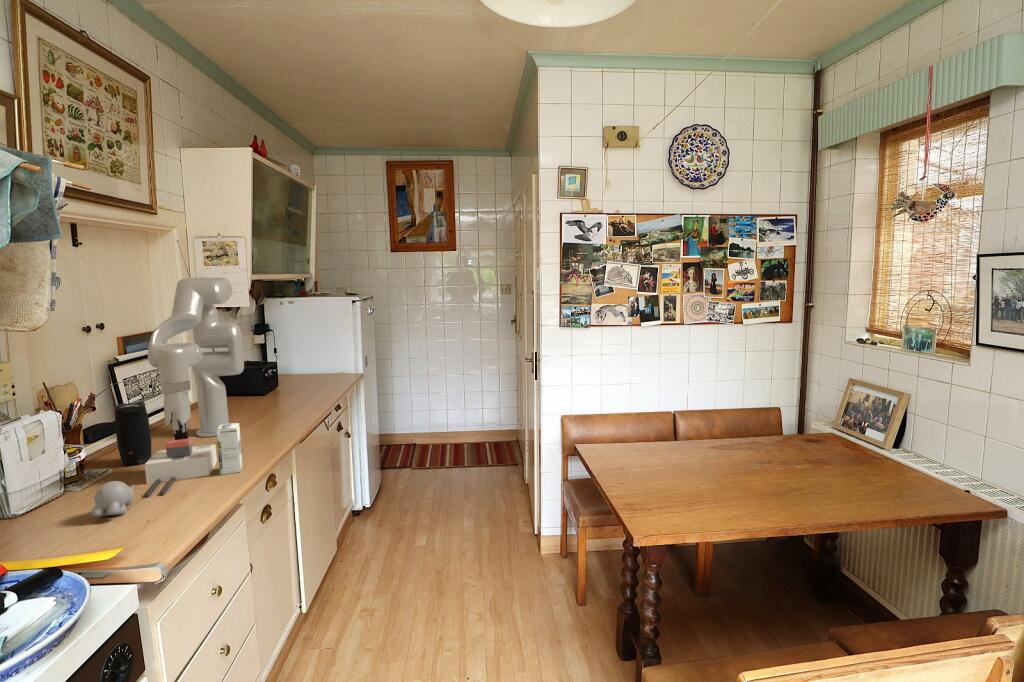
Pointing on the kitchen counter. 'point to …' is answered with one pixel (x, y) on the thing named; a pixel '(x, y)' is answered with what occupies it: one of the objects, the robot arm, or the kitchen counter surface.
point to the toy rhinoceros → (112, 499)
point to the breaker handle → (179, 448)
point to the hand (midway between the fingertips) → (182, 444)
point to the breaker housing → (181, 464)
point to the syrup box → (229, 448)
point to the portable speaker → (133, 433)
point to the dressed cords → (157, 485)
